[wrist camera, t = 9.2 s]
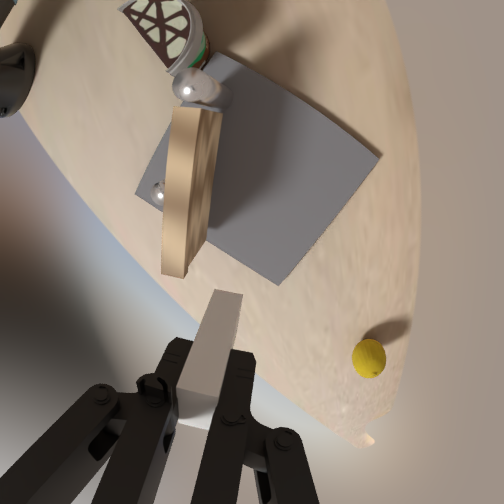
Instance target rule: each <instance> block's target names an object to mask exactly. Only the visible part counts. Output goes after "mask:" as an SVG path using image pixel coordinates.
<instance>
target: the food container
mask: <svg viewBox="0 0 504 504" xmlns="http://www.w3.org/2000/svg"><path fill="white" fill-rule="evenodd" d="M117 10H119V11H121V12H122V13H124V14H125V15H126V16H127V17H128V19H129V20H130V21H131V22H132V24H133V25H134V26H135V27H136V29H137V30H138V31H139V33H140V34H141V36H142V37H143V38H144V39H145V40H146V42H147V43H148V44H149V45H150V46H151V48H152V49H153V50H154V51H155V53H156V54H157V55H158V57H159V58H160V59H161V60H162V62H163V63H164V64H165V66H166V67H167V68H168V69H167V70H166V72H168V73H169V74H170V75H172V76H173V77H175V76H176V75H177V74H178V73H179V72H180V71H182V70H183V69H186V68H190V67H193V68H198V69H200V70H202V69H203V68H204V66H205V65H206V63H207V60H208V58H209V55H210V43H209V40H208V37H207V36H206V34H205V32H204V31H203V24H202V19H201V16H200V14H199V12H198V11H197V9H196V8H195V7H194V6H193V5H192V4H191V3H190V2H188V1H187V0H129V1H127V2H126V3H124V4H123V5H121V6H120V7H119V8H117Z"/></svg>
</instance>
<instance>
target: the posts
mask: <svg viewBox="0 0 504 504" xmlns="http://www.w3.org/2000/svg"><path fill="white" fill-rule="evenodd" d="M172 88H173V92H174V94H175V95H176V97H177V98H179V99H180V100H183V101H187V102H191V103H195V104H200V105H204V106H207V107H211V108H215V109H225V108H227V107H229V106H230V105H231V103H232V102H233V93H232V91H231V90H230V89H229V88H227V87H226V86H224V85H223V84H221V83H220V82H218V81H217V80H215V79H214V78H212V77H211V76H209V75H208V74H206V73H205V72H203V71H202V70H200V69H198V68H193V67H190V68H186V69H183V70H182V71H180V72H179V73H178V74H177V75H176V76H175V78H174V80H173V85H172ZM164 190H165V179H164V180H162V181H160V182H158V183H156V184H154V185H153V187H152V189H151V198H152V200H153V201H154V202H155V203H156V204H158V205H164Z"/></svg>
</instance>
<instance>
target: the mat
mask: <svg viewBox="0 0 504 504" xmlns="http://www.w3.org/2000/svg"><path fill="white" fill-rule="evenodd" d="M203 72H205V73H206V74H208V75H209V76H211V77H212V78H214V79H215V80H217V81H218V82H220V83H221V84H223V85H224V86H226V87H227V88H229V89H230V90H231V91H232V93H233V102H232V103H231V105H230V106H229V107H227V108H225V109H215V108H211V107H207V106H204V105H200V104H195V103H191V102H187V101H183V102H182V104H181V106H180V107H191V108H202V109H205V110H209V111H214V112H219V113H223V117H222V124H221V130H220V137H219V143H218V150H217V157H216V164H215V171H214V179H213V187H212V194H211V203H210V211H209V220H208V228H207V238H206V241H208V242H210V243H211V244H213V245H214V246H216V247H217V248H219V249H221V250H222V251H224V252H225V253H227V254H228V255H230V256H232V257H233V258H235V259H236V260H238V261H239V262H241V263H243V264H244V265H246V266H247V267H249V268H251V269H252V270H254V271H255V272H257V273H258V274H260V275H262V276H263V277H265V278H266V279H268V280H270V281H271V282H273V283H274V284H276V285H278V286H279V285H280V284H281V283H282V281H283V280H284V279H285V278H286V277H287V275H288V274H289V273H290V272H291V271H292V269H293V268H294V267H295V266H296V265H297V263H298V262H299V261H300V260H301V259H302V257H303V256H304V255H305V254H306V252H307V251H308V250H309V249H310V248H311V246H312V245H313V244H314V243H315V241H316V240H317V239H318V238H319V236H320V235H321V234H322V233H323V231H324V230H325V229H326V228H327V226H328V225H329V224H330V223H331V221H332V220H333V219H334V218H335V216H336V215H337V214H338V213H339V211H340V210H341V209H342V207H343V206H344V205H345V204H346V202H347V201H348V200H349V198H350V197H351V196H352V195H353V193H354V192H355V191H356V189H357V188H358V187H359V185H360V184H361V183H362V181H363V180H364V179H365V178H366V176H367V175H368V174H369V172H370V171H371V170H372V168H373V167H374V166H375V164H376V163H377V162H378V160H379V158H378V157H376V156H375V155H374V154H373V153H372V152H370V151H369V150H368V149H367V148H366V147H364V146H363V145H362V144H361V143H360V142H358V141H357V140H356V139H355V138H353V137H352V136H351V135H350V134H348V133H347V132H346V131H344V130H343V129H342V128H340V127H339V126H338V125H336V124H335V123H334V122H332V121H331V120H330V119H328V118H327V117H326V116H324V115H323V114H321V113H320V112H319V111H317V110H316V109H314V108H313V107H311V106H310V105H308V104H307V103H305V102H304V101H302V100H301V99H299V98H298V97H296V96H295V95H293V94H292V93H290V92H289V91H287V90H285V89H284V88H282V87H281V86H279V85H277V84H276V83H274V82H272V81H271V80H269V79H267V78H266V77H264V76H262V75H260V74H259V73H257V72H255V71H253V70H252V69H250V68H248V67H246V66H244V65H242V64H240V63H239V62H237V61H235V60H233V59H231V58H229V57H227V56H225V55H223V54H221V53H219V52H217V51H216V52H215V54H214V55H213V56H212V58H211V59H210V61H209V62H208V64H207V65H206V67H205V68H204V70H203ZM171 122H172V121H171ZM170 130H171V123H170V125H169V127H168V128H167V130H166V132H165V134H164V136H163V137H162V139H161V141H160V143H159V145H158V147H157V149H156V151H155V153H154V155H153V157H152V159H151V161H150V163H149V165H148V167H147V169H146V171H145V173H144V175H143V177H142V179H141V181H140V183H139V185H138V188H137V190H136V192H135V195H137V196H139V197H140V198H142V199H143V200H145V201H146V202H148V203H149V204H151V205H152V206H154V207H155V208H157V209H158V210H160V211H161V212H163V205H158V204H156V203H155V202H154V201H153V200H152V198H151V189H152V187H153V185H154V184H156V183H158V182H160V181H162V180H164V179H165V177H166V166H167V156H168V147H169V138H170Z"/></svg>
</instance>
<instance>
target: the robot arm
mask: <svg viewBox="0 0 504 504" xmlns="http://www.w3.org/2000/svg"><path fill="white" fill-rule="evenodd" d="M16 4H17V0H0V28H1V27H2V25H3V23H4V21H5V20H6V18H7V16H8V15H9V13H10V11H11V10H12V8H13V6H14V5H16ZM34 70H35V56H34V52H33V49H32V47H31V46H30V45H28V44H25V43H13V44H10V45H7V46H4V47H1V48H0V118H4V117H9V116H12V115H13V114H15V113H16V112H17V111H18V110H19V108H20V107H21V106H22V104H23V102H24V101H25V99H26V97H27V95H28V92H29V90H30V87H31V84H32V80H33V76H34ZM242 298H243V295H242V294H237V293H232V292H227V291H222V290H217V289H215V290H214V292H213V294H212V297H211V299H210V302H209V304H208V307H207V309H206V312H205V314H204V317H203V319H202V322H201V324H200V327H199V329H198V332H197V334H196V337H195V340H194V341H190V340H186V339H182V338H178V337H176V338H175V339H174V340H172V341H171V342H170V343H169V344H168V346H167V348H166V350H165V352H164V354H163V356H162V359H161V360H160V362H159V364H158V366H157V368H156V371H155V373H150V374H145V375H143V376H141V377H140V378H139V379H138V380H137V381H136V384H137V388H138V392H136V393H120V392H116V390H115V389H114V388H113V387H112V386H109V385H107V384H96V385H94V386H92V387H91V388H89V389H88V390H87V391H86V392H85V393H84V394H83V395H82V396H81V397H80V398H79V399H78V400H77V401H76V402H75V403H74V404H73V405H72V406H71V407H70V408H69V409H68V410H67V411H66V412H65V413H64V414H63V415H62V416H61V417H60V418H59V419H58V420H57V421H56V422H55V423H54V424H53V425H52V426H51V427H50V428H49V429H48V430H47V431H46V432H45V433H44V434H43V435H42V436H41V437H40V438H39V439H38V440H37V441H36V442H35V443H34V444H33V445H32V446H31V447H30V448H29V449H28V450H27V451H26V452H25V453H24V454H23V455H22V456H21V457H20V458H19V459H18V460H17V461H16V462H15V463H14V464H13V466H11V467H10V468H9V469H8V470H7V472H6V473H5V474H4V475H3V476H2V477H1V478H0V504H71V503H72V501H73V500H74V499H75V498H76V497H77V495H78V494H79V493H80V492H81V491H82V490H83V488H84V487H85V486H86V485H87V484H88V483H89V481H90V480H91V479H92V478H93V477H94V475H95V474H96V473H97V472H98V470H99V469H100V468H101V467H102V466H103V465H104V463H105V462H106V461H107V460H108V458H109V457H110V456H111V457H110V459H109V462H108V464H107V467H106V469H105V471H104V473H103V476H102V478H101V481H100V483H99V486H98V488H97V490H96V493H95V495H94V498H93V500H92V503H91V504H153V503H154V500H155V496H156V493H157V490H158V487H159V483H160V480H161V477H162V474H163V471H164V468H165V465H166V461H167V458H168V455H169V452H170V449H171V446H172V443H173V439H174V436H175V430H176V429H175V426H176V423H177V420H178V422H179V423H181V424H185V425H189V426H193V427H197V428H201V429H205V430H209V432H208V436H207V440H206V444H205V448H204V452H203V456H202V460H201V464H200V468H199V472H198V476H197V480H196V484H195V489H194V492H193V496H192V500H191V504H236V502H237V496H238V490H239V484H240V478H241V471H242V465H243V464H244V465H246V466H248V467H250V468H253V469H254V475H255V480H256V487H257V492H258V498H259V504H319V500H318V497H317V494H316V490H315V486H314V483H313V479H312V475H311V472H310V468H309V465H308V461H307V457H306V454H305V450H304V447H303V443H302V440H301V438H300V436H299V434H298V433H296V432H295V431H294V430H292V429H289V428H285V427H279V428H275V429H271V428H269V427H267V426H264V425H262V424H260V423H259V422H257V421H256V420H255V419H254V417H253V416H252V414H251V411H250V403H251V396H252V389H253V382H254V375H255V367H256V360H255V358H254V355H253V353H250V352H245V351H240V350H235V349H233V346H234V341H235V337H236V333H237V327H238V321H239V315H240V309H241V303H242Z"/></svg>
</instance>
